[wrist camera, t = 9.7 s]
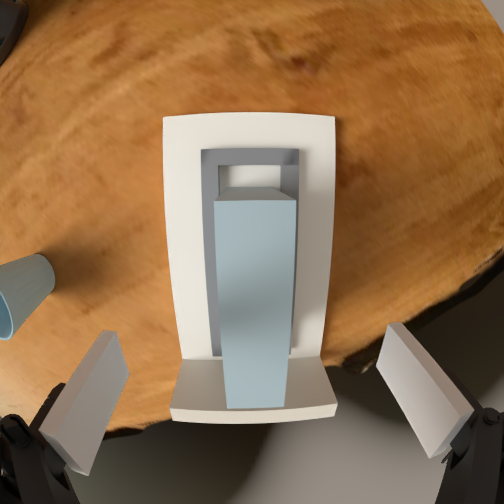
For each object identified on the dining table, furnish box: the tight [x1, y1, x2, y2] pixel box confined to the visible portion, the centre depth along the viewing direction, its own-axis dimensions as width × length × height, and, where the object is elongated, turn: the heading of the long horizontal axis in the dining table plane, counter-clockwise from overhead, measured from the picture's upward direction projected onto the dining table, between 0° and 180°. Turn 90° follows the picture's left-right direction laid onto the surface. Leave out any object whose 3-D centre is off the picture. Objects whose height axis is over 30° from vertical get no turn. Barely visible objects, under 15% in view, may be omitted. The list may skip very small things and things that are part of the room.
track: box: [163, 112, 338, 424], centre depth 24 cm, size 28×16×9 cm, turn 0°
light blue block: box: [214, 187, 296, 408], centre depth 21 cm, size 14×4×12 cm, turn 0°
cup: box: [0, 254, 55, 340], centre depth 23 cm, size 8×8×10 cm
